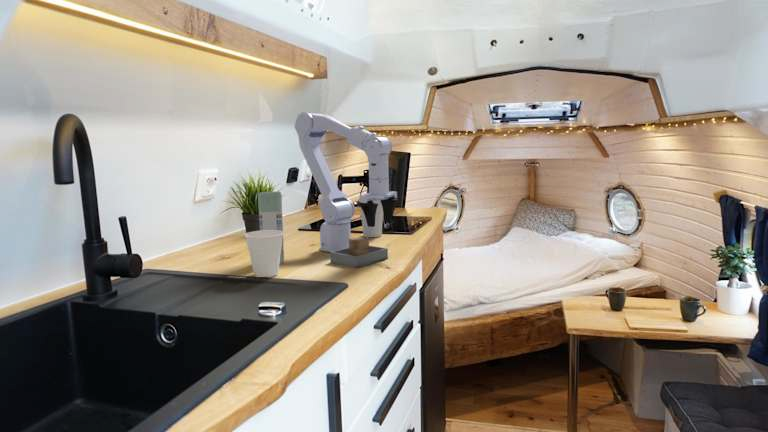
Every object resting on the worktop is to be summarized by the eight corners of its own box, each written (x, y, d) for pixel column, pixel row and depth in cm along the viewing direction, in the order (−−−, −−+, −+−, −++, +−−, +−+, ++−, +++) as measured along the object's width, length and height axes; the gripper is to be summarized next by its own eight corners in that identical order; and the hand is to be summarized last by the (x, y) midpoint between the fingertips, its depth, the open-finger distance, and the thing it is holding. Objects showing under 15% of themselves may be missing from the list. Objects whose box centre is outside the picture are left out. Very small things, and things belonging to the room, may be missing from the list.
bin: (330, 262, 145) (330, 252, 144) (361, 253, 155) (361, 244, 154) (357, 267, 138) (356, 257, 138) (387, 258, 148) (387, 248, 148)
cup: (292, 271, 136) (290, 230, 134) (273, 281, 126) (270, 238, 125) (260, 269, 139) (258, 229, 137) (238, 278, 130) (236, 236, 128)
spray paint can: (282, 264, 143) (279, 193, 140) (259, 265, 143) (255, 194, 140) (285, 259, 150) (282, 191, 147) (263, 259, 150) (260, 191, 146)
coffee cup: (356, 238, 179) (355, 195, 177) (362, 233, 188) (361, 192, 186) (383, 238, 178) (382, 195, 175) (387, 233, 187) (387, 192, 185)
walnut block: (349, 259, 146) (348, 239, 145) (359, 257, 149) (358, 236, 148) (359, 261, 143) (359, 240, 142) (369, 259, 146) (368, 238, 145)
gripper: (372, 181, 141) (373, 229, 143) (404, 177, 152) (405, 222, 154) (354, 180, 145) (355, 227, 147) (386, 176, 156) (387, 220, 158)
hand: (379, 224), depth 151 cm, fingers open, 7 cm apart
